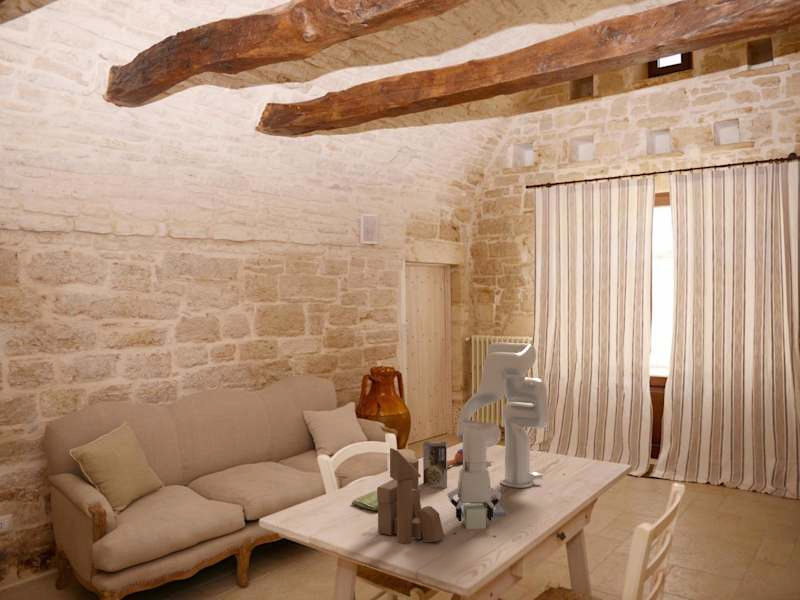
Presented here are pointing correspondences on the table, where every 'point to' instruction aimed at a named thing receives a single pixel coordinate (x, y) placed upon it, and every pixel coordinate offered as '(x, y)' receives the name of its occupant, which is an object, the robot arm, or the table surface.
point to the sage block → (474, 516)
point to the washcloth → (367, 501)
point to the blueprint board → (496, 510)
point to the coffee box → (435, 464)
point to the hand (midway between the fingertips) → (474, 519)
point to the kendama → (456, 458)
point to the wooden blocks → (406, 504)
